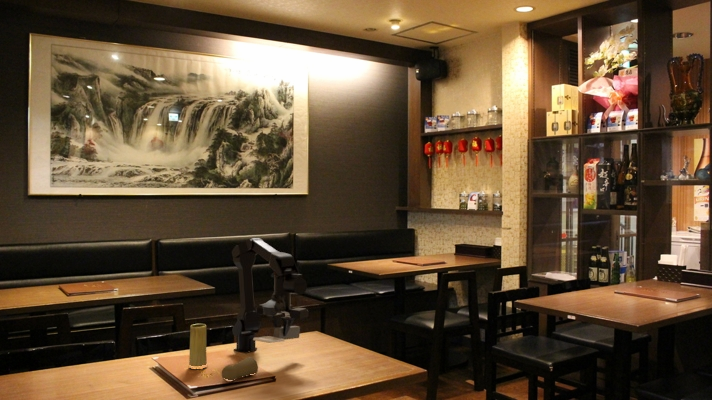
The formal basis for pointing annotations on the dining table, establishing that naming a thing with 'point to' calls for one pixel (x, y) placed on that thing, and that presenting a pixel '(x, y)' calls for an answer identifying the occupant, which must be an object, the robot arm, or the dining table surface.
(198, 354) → the vase
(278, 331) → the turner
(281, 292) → the robot arm
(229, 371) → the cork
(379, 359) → the dining table surface
